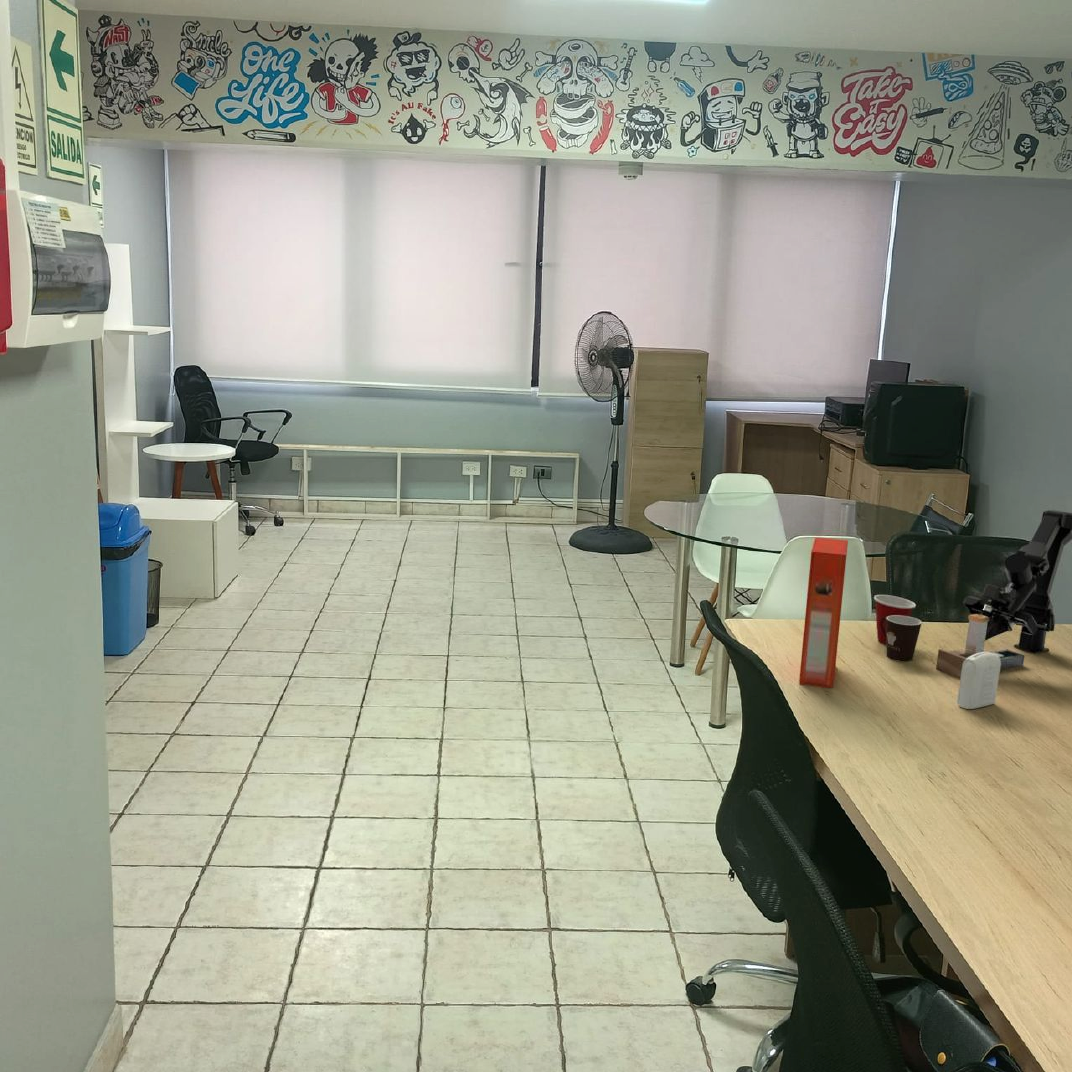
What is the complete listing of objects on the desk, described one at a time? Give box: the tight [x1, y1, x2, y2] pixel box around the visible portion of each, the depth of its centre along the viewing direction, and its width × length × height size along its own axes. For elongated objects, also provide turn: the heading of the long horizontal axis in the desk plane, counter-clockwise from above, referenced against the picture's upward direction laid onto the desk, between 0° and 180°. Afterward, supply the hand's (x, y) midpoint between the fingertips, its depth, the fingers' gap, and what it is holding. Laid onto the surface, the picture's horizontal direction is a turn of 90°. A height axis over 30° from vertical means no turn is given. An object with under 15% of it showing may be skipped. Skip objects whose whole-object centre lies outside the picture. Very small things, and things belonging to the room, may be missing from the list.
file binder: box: [798, 537, 849, 689], centre depth 261 cm, size 8×17×32 cm, turn 163°
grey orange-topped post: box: [964, 614, 1004, 658], centre depth 273 cm, size 13×3×13 cm, turn 120°
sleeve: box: [990, 649, 1025, 671], centre depth 278 cm, size 12×5×3 cm, turn 120°
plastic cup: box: [873, 594, 917, 646], centre depth 292 cm, size 11×11×12 cm
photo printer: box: [956, 651, 1001, 710], centre depth 247 cm, size 10×4×12 cm, turn 123°
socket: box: [935, 648, 967, 679], centre depth 271 cm, size 9×9×5 cm
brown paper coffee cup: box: [880, 615, 923, 663], centre depth 281 cm, size 12×9×10 cm
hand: (980, 640), depth 272 cm, fingers closed, pressing on grey orange-topped post
